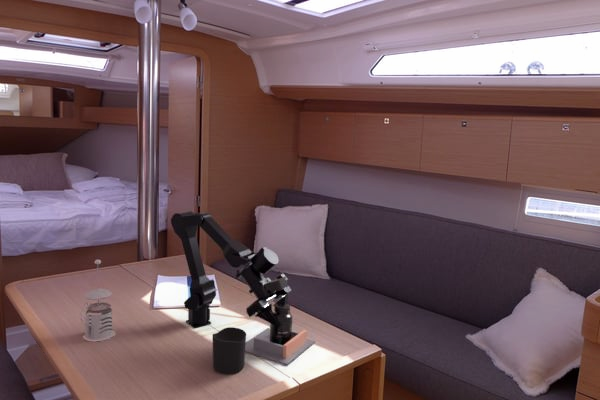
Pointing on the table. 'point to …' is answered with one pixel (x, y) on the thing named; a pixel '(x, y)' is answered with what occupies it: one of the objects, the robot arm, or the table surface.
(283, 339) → the supplement bottle
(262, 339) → the bottle holder
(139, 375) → the table surface
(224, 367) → the pen holder
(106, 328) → the french press
